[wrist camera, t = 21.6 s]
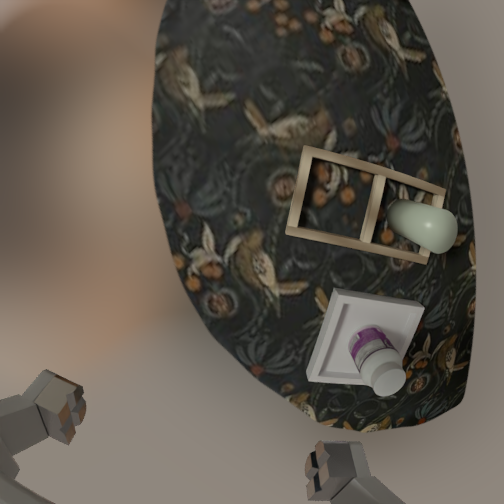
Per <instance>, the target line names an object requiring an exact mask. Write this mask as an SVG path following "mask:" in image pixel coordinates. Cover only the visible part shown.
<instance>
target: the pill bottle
mask: <svg viewBox="0 0 504 504" xmlns="http://www.w3.org/2000/svg"><path fill="white" fill-rule="evenodd" d="M348 351H349V353H350V355H351V357H352V359H353V361H354V363H355V365H356V367H357V370H358V372H359V374H360V376H361V378H362V380H363V382H364V383H365V384H366V385H368V386H370V387H372V388H373V390H374V392H375V393H376V394H377V395H379V396H389V395H392V394H394V393H395V392H397V391H398V390H399V389H400V388H401V387H402V386H403V384H404V383H405V380H406V374H405V372H404V370H403V369H402V358H401V356H400V354H399V352H398V351H397V350H396V349H395V347H394V346H393V344H392V343H391V342H390V340H389V339H388V338H387V336H386V335H385V334H384V332H383V331H382V330H381V329H380V328H379V327H377V326H375V325H365V326H362V327H360V328H358V329H357V330H356V331H354V332H353V333H352V335H351V336H350V338H349V340H348Z"/></svg>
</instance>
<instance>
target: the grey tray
mask: <svg viewBox="0 0 504 504" xmlns="http://www.w3.org/2000/svg"><path fill="white" fill-rule="evenodd" d="M424 309H425V308H424V307H423V306H422V305H421V304H420V303H419V302H418V301H413V300H406V299H400V298H394V297H388V296H381V295H375V294H369V293H363V292H357V291H351V290H345V289H339V288H334V289H333V293H332V296H331V299H330V302H329V306H328V309H327V312H326V315H325V318H324V321H323V324H322V327H321V330H320V333H319V336H318V339H317V342H316V345H315V348H314V351H313V354H312V357H311V359H310V362H309V365H308V368H307V370H306V373H307V377H308V381H313V382H325V383H339V384H358V385H366V384H365V383H364V382H363V380H362V378H361V376H360V374H359V372H358V370H357V367H356V365H355V363H354V361H353V359H352V357H351V355H350V353H349V351H348V340H349V338H350V336H351V335H352V333H353V332H354V331H356V330H357V329H358V328H360V327H362V326H365V325H375V326H377V327H379V328H380V329H381V330H382V331H383V332H384V334H385V335H386V336H387V338H388V339H389V340H390V342H391V343H392V344H393V346H394V347H395V349H396V350H397V351H398V352H399V354H400V356H401V358H402V360H403V358H404V356H405V353H406V351H407V349H408V347H409V345H410V342H411V340H412V338H413V336H414V333H415V331H416V329H417V326H418V324H419V321H420V319H421V316H422V314H423V311H424Z"/></svg>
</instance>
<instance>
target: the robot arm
mask: <svg viewBox="0 0 504 504" xmlns="http://www.w3.org/2000/svg"><path fill="white" fill-rule="evenodd" d="M83 393H84V391H83V387H82V386H80V385H78V384H76V383H74V382H72V381H69V380H68V379H66V378H63V377H61V376H59V375H57V374H55V373H53V372H51V371H49V370H47V369H46V370H44V371H42V372H41V373H40V374H39V376H38V377H37V378H36V379H35V380H34V381H33V383H32V384H31V385H30V386H29V387H28V389H27V390H26V391H25V392H24V393H23V395H22V396H21V395H19V394H18V395H15V396H12V397H8V398H5V399H2V400H0V504H55V503H53V502H51V501H49V500H47V499H46V498H44V497H42V496H40V495H38V494H37V493H35V492H33V491H32V490H30V489H28V488H27V487H25V486H23V485H22V484H20V483H19V482H17V481H15V480H14V479H15V477H16V476H17V474H18V472H19V470H20V469H19V466H18V464H17V463H16V461H15V460H14V458H13V457H12V456H13V455H15V454H17V453H19V452H21V451H23V450H25V449H27V448H29V447H31V446H33V445H35V444H37V443H39V442H41V441H42V440H44V439H46V438H48V436H50V437H52V438H54V439H56V440H58V441H60V442H62V443H64V444H67V445H69V444H70V442H71V440H72V438H73V437H74V435H75V433H76V431H75V426H77V425H80V424H81V423H82V421H83V419H84V416H85V413H86V401H85V400H84V399H83V397H82V395H83ZM305 475H306V477H307V478H308V479H309V480H310V482H309V483H308V484H307V486H306V487H307V497H308V500H315V501H319V500H321V501H330V502H331V504H405V503H404V502H403V501H402V500H401V499H400V498H398V497H397V496H396V495H395V494H394V493H393V492H391V491H390V490H389V489H388V488H387V487H386V486H385V485H384V484H383V483H381V482H380V481H379V480H378V479H377V478H376V477H371V474H370V471H369V467H368V463H367V460H366V456H365V453H364V449H363V446H362V443H361V442H346V441H319V442H318V443H317V444H316V445H315V451H313V452H311V453H310V454H309V456H308V457H307V460H306V464H305Z"/></svg>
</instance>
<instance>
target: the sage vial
mask: <svg viewBox="0 0 504 504" xmlns="http://www.w3.org/2000/svg"><path fill="white" fill-rule="evenodd" d="M387 222H388V225H389V227H390V229H391V230H392V231H394V232H395V233H397V234H399V235H401V236H403V237H405V238H407V239H409V240H411V241H413V242H415V243H417V244H419V245H420V246H422V247H424V248H426V249H428V250H430V251H432V252H434V253H437V254H440V253H444V252H446V251H447V250H449V249H450V248H451V247H452V245H453V244H454V242H455V240H456V237H457V229H458V228H457V222H456V219H455V217H454V215H453V214H452V213H451V212H449V211H447V210H444V209H441V208H437V207H434V206H430V205H426V204H422V203H419V202H415V201H411V200H407V199H398V200H396V201H394V202H393V203H392V204H391V206H390V207H389V209H388V212H387Z"/></svg>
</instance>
